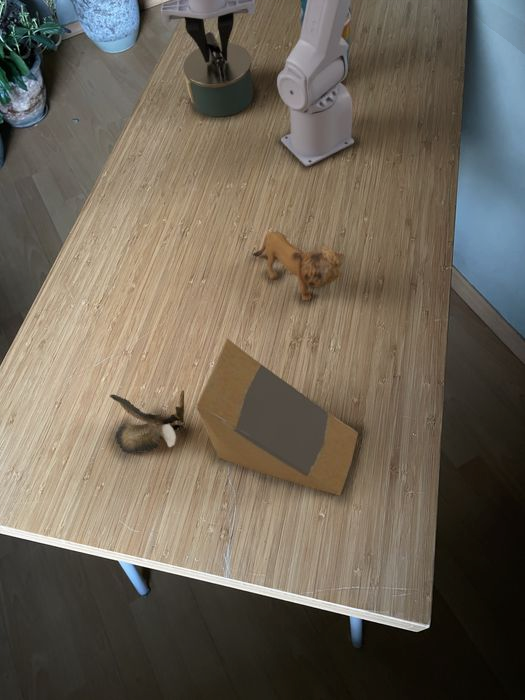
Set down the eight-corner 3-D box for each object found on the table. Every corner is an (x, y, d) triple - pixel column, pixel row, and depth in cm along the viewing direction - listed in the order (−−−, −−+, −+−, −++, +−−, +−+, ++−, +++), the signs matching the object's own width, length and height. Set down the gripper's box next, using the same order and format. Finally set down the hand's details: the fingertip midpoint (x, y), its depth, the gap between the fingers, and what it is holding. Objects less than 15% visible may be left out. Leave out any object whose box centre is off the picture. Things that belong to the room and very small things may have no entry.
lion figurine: (348, 288, 82) (351, 245, 74) (328, 314, 80) (328, 273, 72) (262, 245, 87) (257, 201, 80) (241, 269, 85) (233, 227, 78)
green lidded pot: (245, 69, 109) (238, 17, 100) (262, 107, 103) (257, 55, 95) (184, 85, 108) (172, 34, 100) (198, 124, 102) (187, 73, 94)
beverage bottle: (308, 93, 104) (306, -26, 87) (296, 65, 108) (291, -54, 91) (354, 82, 104) (361, -39, 87) (340, 55, 109) (344, -65, 92)
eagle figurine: (184, 387, 75) (111, 389, 74) (184, 392, 68) (104, 395, 67) (185, 446, 75) (113, 450, 74) (186, 458, 68) (106, 462, 67)
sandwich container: (341, 498, 67) (345, 451, 54) (217, 459, 71) (194, 406, 58) (360, 431, 71) (368, 372, 58) (242, 398, 75) (225, 335, 62)
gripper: (251, -46, 89) (259, 40, 101) (156, -37, 90) (175, 47, 102) (251, -21, 85) (259, 65, 97) (152, -12, 86) (172, 72, 98)
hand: (216, 58), depth 99 cm, fingers closed on green lidded pot, 2 cm apart
